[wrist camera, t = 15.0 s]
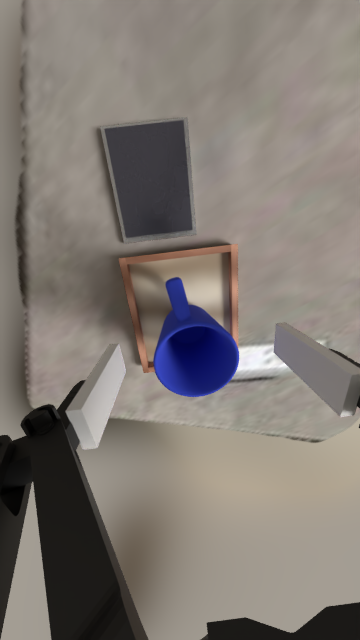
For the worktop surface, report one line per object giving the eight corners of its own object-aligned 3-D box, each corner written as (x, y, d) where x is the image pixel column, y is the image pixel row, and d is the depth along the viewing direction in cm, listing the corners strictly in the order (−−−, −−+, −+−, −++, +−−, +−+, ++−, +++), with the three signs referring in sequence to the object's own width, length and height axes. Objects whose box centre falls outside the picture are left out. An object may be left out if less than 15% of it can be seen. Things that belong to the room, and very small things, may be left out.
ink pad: (102, 131, 19) (97, 122, 18) (186, 122, 19) (188, 112, 18) (125, 243, 23) (122, 242, 21) (195, 235, 23) (197, 233, 22)
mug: (201, 262, 23) (222, 266, 14) (219, 341, 28) (245, 385, 18) (141, 280, 24) (123, 295, 14) (168, 355, 28) (168, 406, 18)
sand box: (122, 258, 23) (118, 258, 22) (232, 244, 24) (237, 243, 22) (145, 366, 29) (143, 372, 27) (234, 354, 29) (238, 360, 27)
